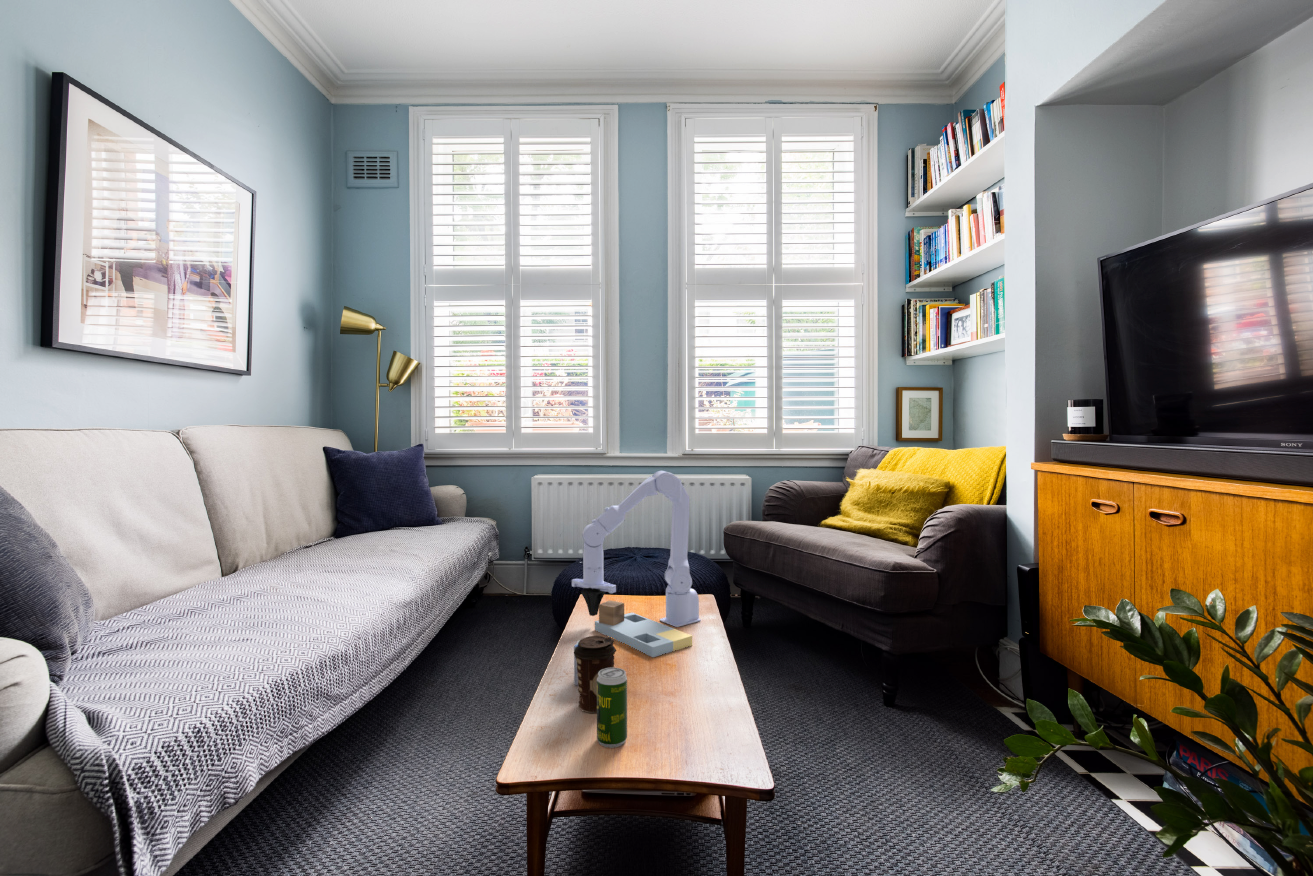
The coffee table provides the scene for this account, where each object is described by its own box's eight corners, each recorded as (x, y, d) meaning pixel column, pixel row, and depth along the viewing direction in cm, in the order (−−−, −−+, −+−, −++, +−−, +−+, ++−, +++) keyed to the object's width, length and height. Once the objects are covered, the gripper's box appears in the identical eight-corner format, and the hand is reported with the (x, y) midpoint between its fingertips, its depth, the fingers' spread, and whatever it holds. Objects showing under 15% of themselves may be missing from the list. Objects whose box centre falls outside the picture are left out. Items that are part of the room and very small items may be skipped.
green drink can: (611, 730, 107) (611, 664, 107) (633, 739, 103) (633, 672, 103) (590, 741, 103) (590, 673, 103) (612, 752, 99) (612, 681, 99)
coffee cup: (624, 701, 118) (624, 637, 118) (604, 719, 111) (604, 651, 111) (587, 694, 122) (587, 631, 122) (565, 711, 114) (565, 644, 114)
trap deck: (632, 620, 171) (632, 612, 171) (692, 645, 150) (692, 635, 150) (594, 630, 162) (594, 621, 162) (652, 657, 142) (652, 647, 142)
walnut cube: (609, 617, 165) (609, 600, 165) (624, 620, 163) (624, 602, 163) (599, 622, 161) (598, 604, 161) (613, 625, 158) (613, 607, 158)
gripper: (564, 566, 166) (564, 614, 166) (605, 572, 158) (605, 622, 158) (580, 562, 172) (580, 608, 172) (620, 567, 164) (620, 616, 164)
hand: (593, 614), depth 165 cm, fingers closed
